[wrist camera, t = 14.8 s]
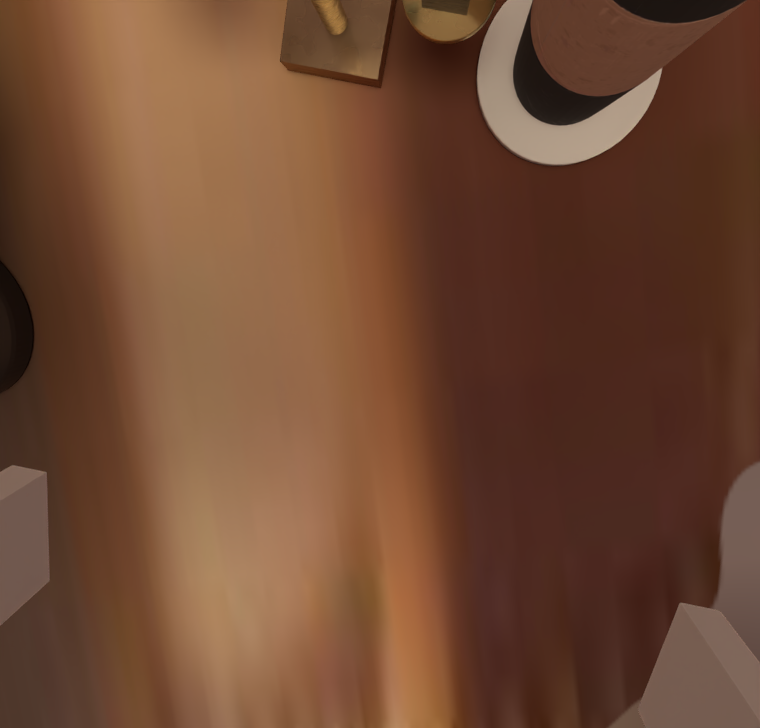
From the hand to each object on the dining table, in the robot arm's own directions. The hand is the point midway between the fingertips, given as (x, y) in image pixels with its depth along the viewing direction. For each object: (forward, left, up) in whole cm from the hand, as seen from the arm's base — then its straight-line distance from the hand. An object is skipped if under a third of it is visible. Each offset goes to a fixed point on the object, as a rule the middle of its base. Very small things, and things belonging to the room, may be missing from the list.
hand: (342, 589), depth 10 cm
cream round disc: (+6, +20, -31) cm, 37 cm away
